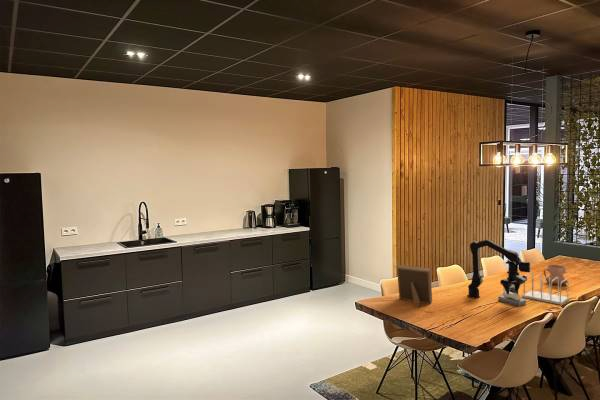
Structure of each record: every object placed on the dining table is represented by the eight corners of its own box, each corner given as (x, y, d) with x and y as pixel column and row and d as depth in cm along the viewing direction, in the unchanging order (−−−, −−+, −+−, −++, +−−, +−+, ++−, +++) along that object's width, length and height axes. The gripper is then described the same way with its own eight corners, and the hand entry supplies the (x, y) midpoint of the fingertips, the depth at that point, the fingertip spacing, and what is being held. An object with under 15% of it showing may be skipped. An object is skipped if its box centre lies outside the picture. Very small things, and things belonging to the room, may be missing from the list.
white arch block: (504, 300, 306) (504, 291, 306) (506, 300, 307) (506, 291, 307) (517, 304, 298) (517, 295, 297) (519, 304, 299) (520, 294, 298)
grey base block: (498, 300, 307) (498, 296, 307) (505, 298, 311) (505, 294, 311) (518, 306, 294) (518, 302, 294) (525, 304, 298) (526, 300, 298)
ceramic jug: (571, 284, 345) (572, 266, 344) (564, 287, 335) (565, 269, 334) (547, 280, 358) (547, 262, 357) (539, 283, 349) (539, 265, 348)
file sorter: (569, 299, 307) (570, 277, 306) (561, 305, 295) (562, 282, 294) (531, 292, 325) (531, 271, 324) (521, 297, 314) (522, 275, 312)
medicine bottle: (509, 297, 314) (510, 280, 313) (502, 294, 321) (503, 278, 320) (518, 296, 316) (518, 279, 315) (511, 293, 323) (511, 277, 322)
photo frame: (401, 297, 316) (401, 263, 314) (432, 302, 305) (432, 266, 303) (394, 303, 304) (394, 267, 301) (426, 308, 293) (426, 271, 290)
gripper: (515, 275, 289) (514, 298, 290) (532, 271, 298) (532, 294, 300) (500, 271, 299) (499, 294, 300) (517, 267, 308) (516, 289, 309)
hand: (512, 293), depth 302 cm, fingers open, 9 cm apart
